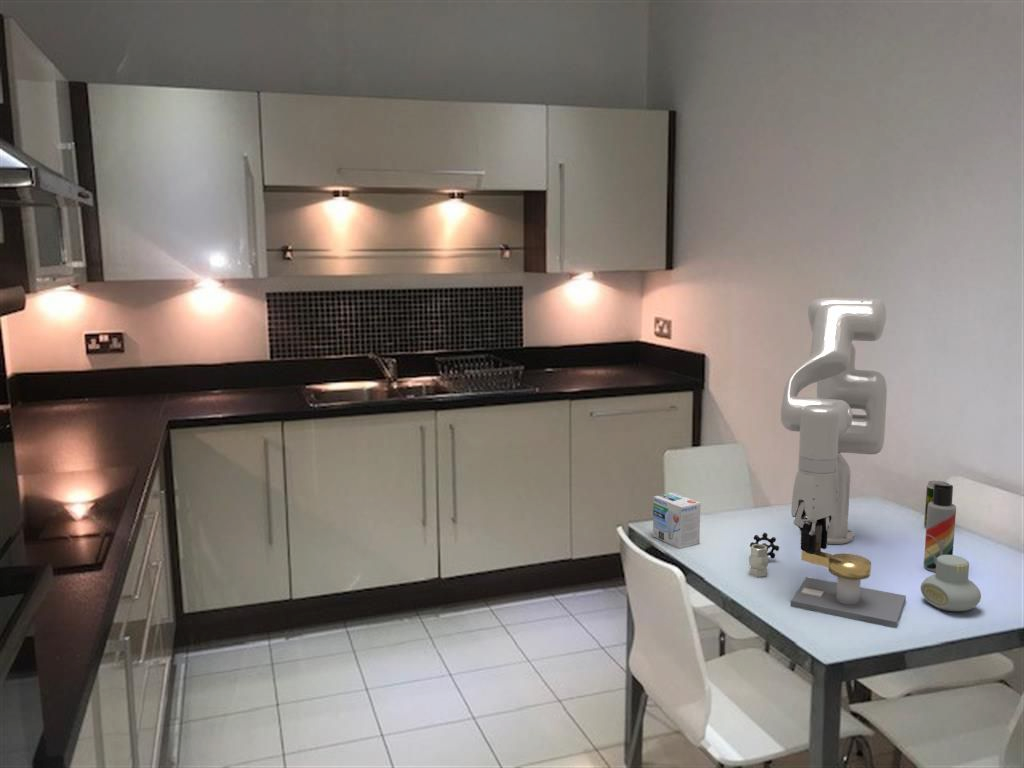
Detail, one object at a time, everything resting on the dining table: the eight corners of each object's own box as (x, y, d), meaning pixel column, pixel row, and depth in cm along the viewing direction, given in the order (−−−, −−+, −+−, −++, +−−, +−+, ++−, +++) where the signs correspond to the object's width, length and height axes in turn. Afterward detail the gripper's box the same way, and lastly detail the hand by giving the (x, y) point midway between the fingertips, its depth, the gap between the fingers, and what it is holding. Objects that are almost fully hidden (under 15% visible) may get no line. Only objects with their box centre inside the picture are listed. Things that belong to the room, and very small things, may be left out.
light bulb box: (651, 536, 217) (652, 495, 215) (671, 531, 220) (672, 491, 218) (680, 549, 208) (680, 506, 206) (700, 544, 211) (701, 502, 209)
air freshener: (987, 613, 171) (991, 565, 169) (956, 620, 168) (960, 572, 166) (942, 592, 181) (946, 547, 179) (912, 598, 178) (915, 553, 176)
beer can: (938, 524, 222) (941, 479, 220) (951, 531, 217) (955, 485, 215) (919, 525, 221) (922, 481, 219) (932, 532, 216) (936, 487, 214)
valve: (772, 580, 189) (778, 561, 200) (773, 551, 188) (779, 534, 199) (741, 575, 192) (749, 557, 202) (742, 547, 190) (750, 530, 201)
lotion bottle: (924, 571, 192) (930, 486, 188) (922, 562, 197) (928, 479, 193) (953, 574, 190) (959, 488, 186) (949, 565, 195) (956, 481, 192)
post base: (806, 582, 187) (807, 551, 186) (905, 601, 177) (907, 569, 176) (790, 606, 175) (791, 574, 174) (896, 627, 165) (898, 593, 164)
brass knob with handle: (813, 554, 184) (815, 517, 182) (877, 571, 174) (879, 533, 172) (794, 564, 178) (796, 527, 177) (859, 583, 168) (861, 543, 167)
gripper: (824, 455, 184) (820, 536, 187) (777, 467, 174) (774, 553, 177) (856, 461, 178) (851, 545, 181) (810, 475, 168) (805, 563, 171)
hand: (813, 548), depth 179 cm, fingers closed on brass knob with handle, 3 cm apart
